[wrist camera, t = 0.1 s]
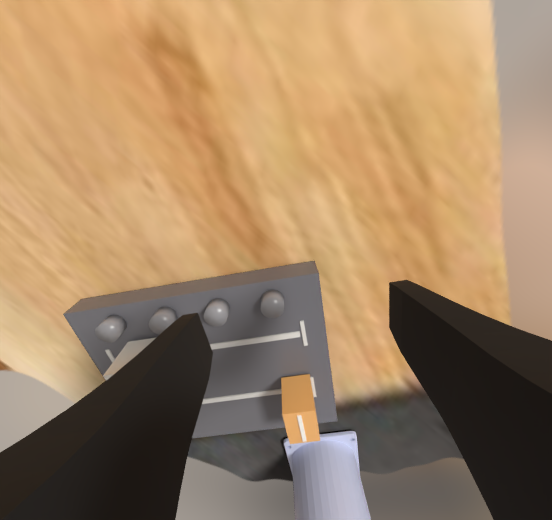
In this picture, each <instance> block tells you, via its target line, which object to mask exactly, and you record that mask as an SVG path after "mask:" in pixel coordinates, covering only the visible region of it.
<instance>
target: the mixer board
mask: <svg viewBox="0 0 552 520" xmlns="http://www.w3.org/2000/svg"><path fill="white" fill-rule="evenodd" d="M192 313H198V314H199V317H200V320H201V322H202V325H203V328H204V330H205V333H206V336H207V338H208V341H209V344H210V346H211V349H212V352H213V357H212V364H211V370H210V376H209V381H208V384H207V388H206V392H205V395H204V399H203V402H202V405H201V409H200V412H199V416H198V419H197V422H196V426H195V429H194V433H193V436H192V438H199V437H207V436H216V435H224V434H232V433H241V432H249V431H258V430H266V429H275V428H283V427H285V423H284V420H283V416H282V388H281V378H283V377H291V376H298V375H306V374H310V379H311V385H312V390H313V396H314V402H315V408H316V415H317V421H318V423H325V422H333V421H337V414H336V406H335V398H334V391H333V383H332V375H331V367H330V359H329V351H328V343H327V336H326V328H325V320H324V312H323V304H322V296H321V288H320V281H319V273H318V270H317V267H316V264H315V261H310V262H304V263H298V264H292V265H285V266H279V267H273V268H267V269H261V270H255V271H249V272H243V273H237V274H231V275H225V276H219V277H213V278H206V279H200V280H194V281H188V282H182V283H176V284H170V285H164V286H158V287H152V288H146V289H140V290H134V291H128V292H121V293H115V294H109V295H103V296H97V297H91V298H85V299H81V300H80V301H78V302H77V303H76V304H75V305H74V306H72V307H71V308H70V309H69V310H67V311H66V312H65V313H64V314H63V315H64V316H65V318H66V320H67V321H68V323H69V324H70V326H71V327H72V329H73V330H74V332H75V334H76V335H77V337H78V338H79V340H80V341H81V343H82V344H83V346H84V347H85V349H86V351H87V352H88V354H89V355H90V357H91V358H92V360H93V361H94V363H95V365H96V366H97V368H98V369H99V371H100V372H101V374H102V375H104V374H105V372H106V371H107V370H108V368H109V367H110V365H111V364H112V363H113V361H114V360H115V359H116V357H117V356H118V355H119V353H120V352H121V351H122V349H123V348H124V346H125V345H126V344H127V342H130V341H136V340H143V339H150V338H156V337H158V336H159V335H160V334H161V333H162V332H163V331H164V330H165V329H167V328H168V327H169V326H170V325H171V324H172V323H173V322H174V321H176V320H177V319H178V318H179V317H181V316H182V315H186V314H192Z"/></svg>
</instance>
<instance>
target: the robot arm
mask: <svg viewBox="0 0 552 520" xmlns="http://www.w3.org/2000/svg"><path fill="white" fill-rule="evenodd" d="M389 328H390V330H391V332H392V334H393V336H394V339H395V341H396V343H397V345H398V347H399V349H400V351H401V353H402V355H403V356H404V358H405V360H406V361H407V363H408V364H409V366H410V368H411V369H412V371H413V372H414V374H415V376H416V377H417V379H418V380H419V382H420V383H421V385H422V387H423V388H424V390H425V391H426V393H427V394H428V396H429V398H430V399H431V401H432V402H433V404H434V405H435V407H436V409H437V410H438V412H439V413H440V415H441V417H442V419H443V420H444V422H445V424H446V425H447V427H448V429H449V431H450V433H451V435H452V437H453V439H454V441H455V443H456V444H457V446H458V448H459V450H460V452H461V454H462V456H463V458H464V460H465V462H466V464H467V466H468V468H469V470H470V472H471V474H472V476H473V478H474V480H475V482H476V484H477V486H478V488H479V490H480V492H481V494H482V496H483V498H484V500H485V502H486V504H487V506H488V508H489V510H490V512H491V515H492V517H493V519H494V520H552V341H551V340H548V339H545V338H542V337H539V336H536V335H533V334H531V333H528V332H525V331H522V330H519V329H517V328H514V327H512V326H509V325H507V324H504V323H502V322H499V321H497V320H494V319H492V318H490V317H487V316H485V315H482V314H480V313H478V312H475V311H473V310H471V309H469V308H466V307H464V306H462V305H460V304H458V303H455V302H453V301H451V300H449V299H447V298H445V297H443V296H441V295H439V294H436V293H434V292H432V291H430V290H428V289H426V288H424V287H422V286H420V285H417V284H415V283H413V282H411V281H408V280H403V281H397V282H390V283H389ZM212 357H213V352H212V349H211V346H210V344H209V341H208V338H207V336H206V333H205V330H204V328H203V325H202V322H201V320H200V317H199V314H198V313H192V314H186V315H182V316H181V317H179V318H178V319H177V320H176V321H174V322H173V323H172V324H171V325H170V326H169V327H168V328H167V329H165V330H164V331H163V332H162V333H161V334H160V335H159V336H158V337H157V338H155V339H154V340H153V341H152V342H151V343H150V344H149V345H148V346H146V347H145V348H144V349H143V350H142V351H141V352H140V353H139V354H138V355H136V356H135V357H134V358H133V359H132V360H130V361H129V362H128V363H127V364H126V365H124V366H123V367H122V368H121V369H120V370H118V371H117V372H116V373H115V374H114V375H113V376H111V377H110V378H109V379H108V380H106V381H105V382H104V383H102V384H101V385H100V386H99V387H97V388H96V389H95V390H93V391H92V392H91V393H89V394H88V395H87V396H85V397H84V398H82V399H81V400H80V401H78V402H77V403H76V404H74V405H73V406H71V407H70V408H69V409H67V410H66V411H64V412H63V413H61V414H60V415H58V416H57V417H55V418H54V419H52V420H51V421H49V422H48V423H46V424H45V425H43V426H42V427H40V428H38V429H37V430H35V431H34V432H33V433H31V434H30V435H28V436H26V437H25V438H23V439H22V440H20V441H18V442H17V443H15V444H13V445H12V446H11V447H9V448H7V449H5V450H4V451H2V452H1V453H0V520H175V518H176V512H177V507H178V501H179V495H180V489H181V485H182V479H183V475H184V469H185V464H186V459H187V455H188V451H189V447H190V443H191V440H192V436H193V433H194V429H195V426H196V422H197V419H198V416H199V412H200V409H201V405H202V402H203V399H204V395H205V392H206V388H207V384H208V381H209V376H210V370H211V364H212ZM284 447H285V450H286V454H287V458H288V461H289V465H290V468H291V472H292V476H293V486H294V487H293V488H294V506H295V520H371V518H370V514H369V510H368V506H367V502H366V498H365V494H364V490H363V486H362V482H361V478H360V471H359V459H358V447H357V436H356V432H354V431H345V432H336V433H327V434H320V441H314V442H305V443H296V444H290V442H289V439H288V438H286V439H284Z"/></svg>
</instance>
